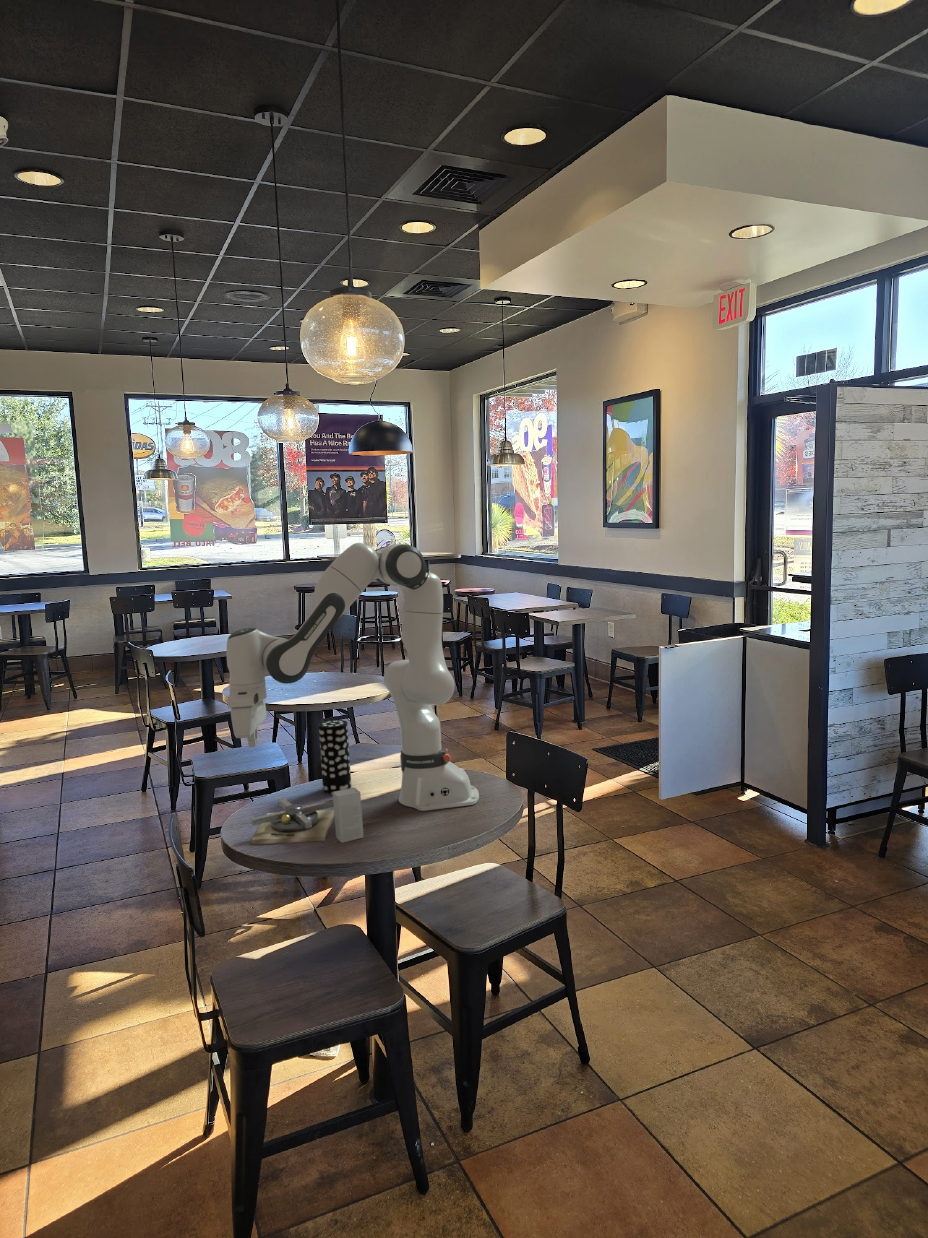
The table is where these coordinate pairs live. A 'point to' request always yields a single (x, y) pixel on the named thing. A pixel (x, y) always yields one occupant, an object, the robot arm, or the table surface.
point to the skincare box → (348, 814)
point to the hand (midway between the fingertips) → (253, 745)
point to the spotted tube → (334, 755)
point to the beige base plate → (311, 834)
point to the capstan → (293, 816)
